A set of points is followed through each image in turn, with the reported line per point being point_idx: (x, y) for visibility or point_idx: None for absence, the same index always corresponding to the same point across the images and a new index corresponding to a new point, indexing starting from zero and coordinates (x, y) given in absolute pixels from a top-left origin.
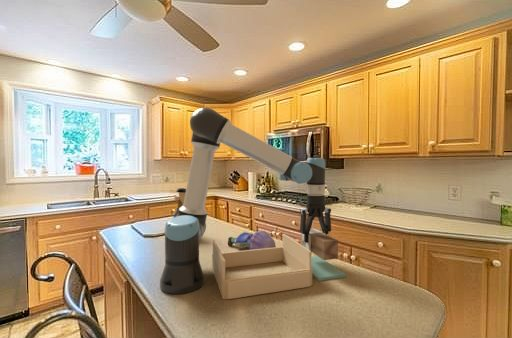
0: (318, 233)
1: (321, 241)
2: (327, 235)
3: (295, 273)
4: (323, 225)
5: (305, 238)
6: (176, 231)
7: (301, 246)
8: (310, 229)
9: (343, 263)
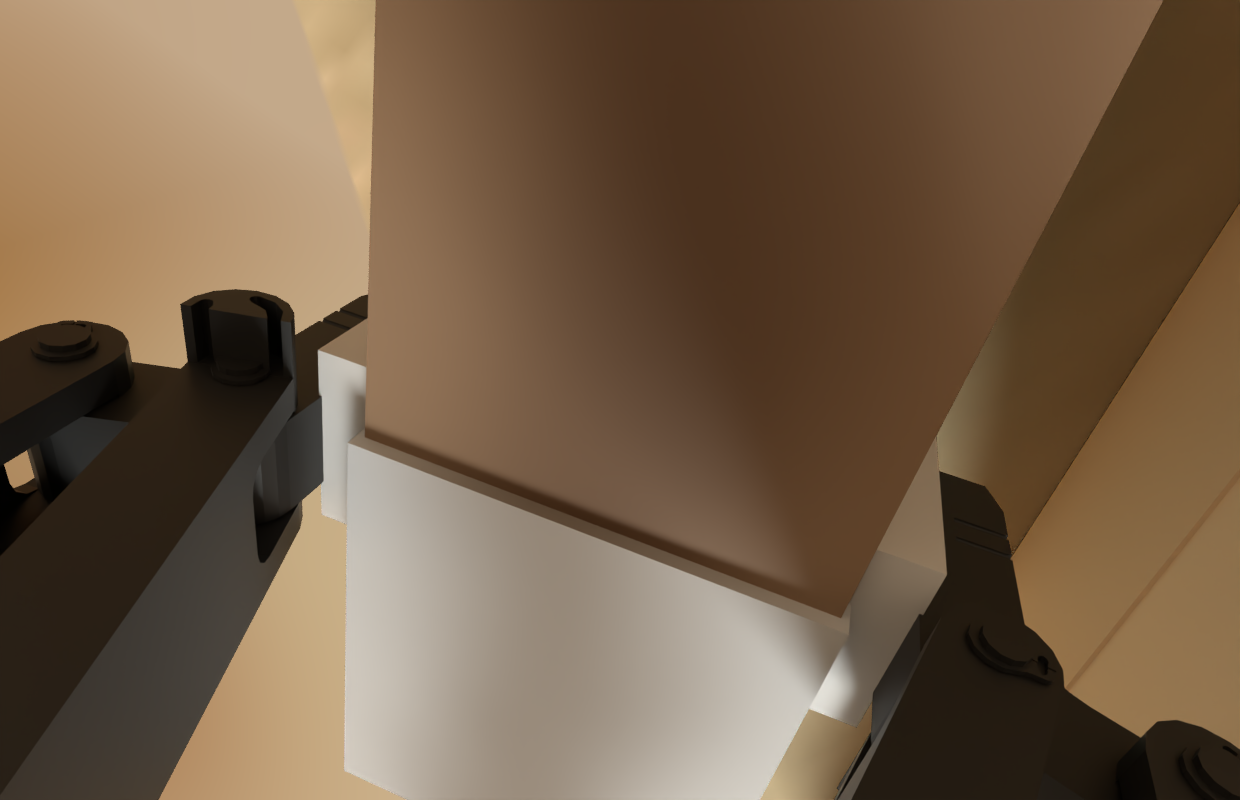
0: (522, 479)
1: None
2: (386, 107)
3: None
4: (127, 575)
5: (1005, 585)
6: None
7: None
8: (487, 797)
9: (340, 77)
